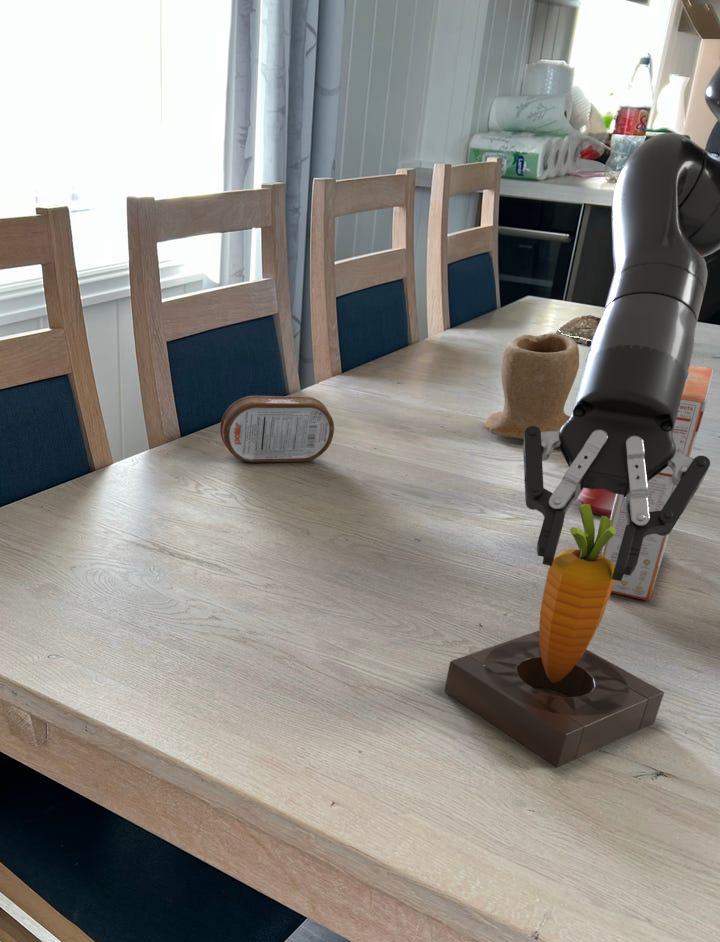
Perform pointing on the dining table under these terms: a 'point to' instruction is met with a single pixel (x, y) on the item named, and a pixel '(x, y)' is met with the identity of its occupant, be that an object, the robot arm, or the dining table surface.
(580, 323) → the brown shell
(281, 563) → the dining table surface
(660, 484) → the cracker box
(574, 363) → the stone cup
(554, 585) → the carrot
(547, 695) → the socket pad
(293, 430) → the tin
